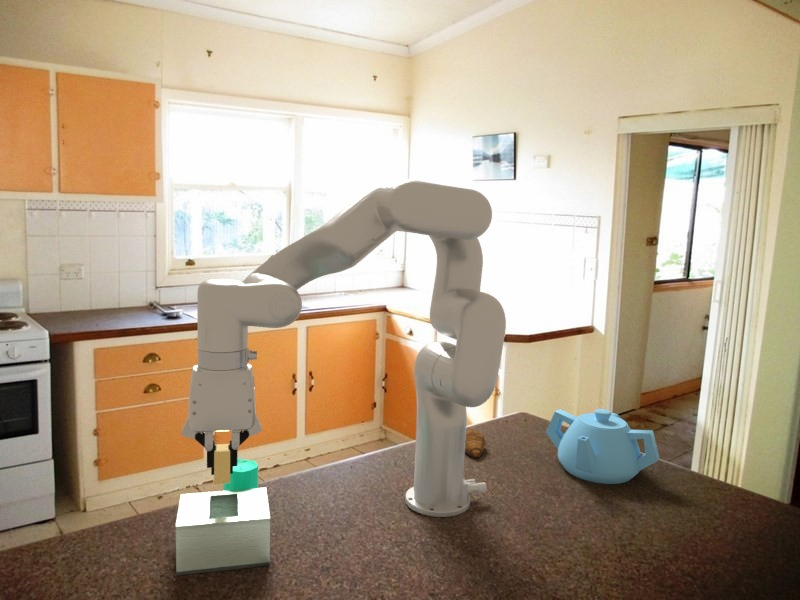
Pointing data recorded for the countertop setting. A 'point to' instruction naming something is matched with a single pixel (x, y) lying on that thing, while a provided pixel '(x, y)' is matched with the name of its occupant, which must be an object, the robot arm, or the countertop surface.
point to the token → (222, 464)
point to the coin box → (222, 531)
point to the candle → (243, 476)
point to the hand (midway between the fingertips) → (222, 470)
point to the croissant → (474, 443)
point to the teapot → (601, 446)
